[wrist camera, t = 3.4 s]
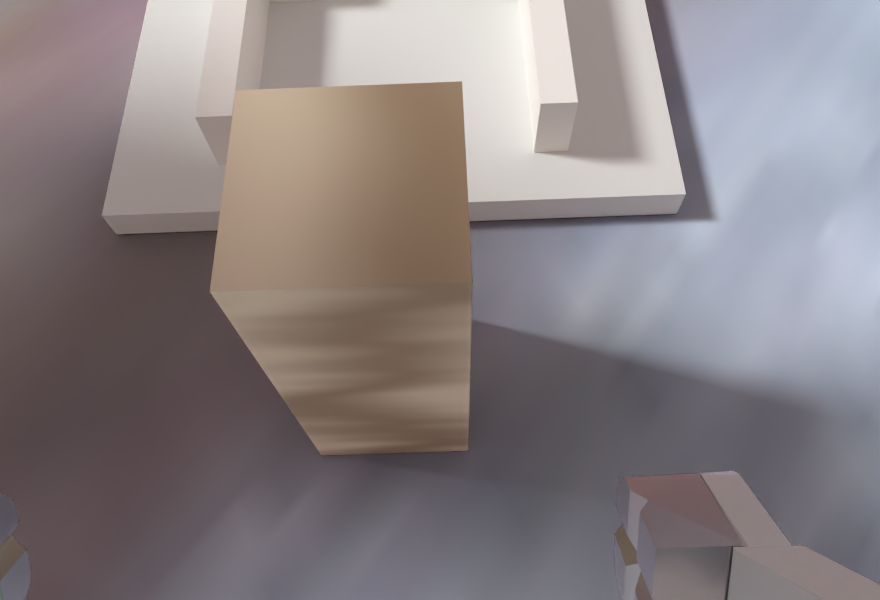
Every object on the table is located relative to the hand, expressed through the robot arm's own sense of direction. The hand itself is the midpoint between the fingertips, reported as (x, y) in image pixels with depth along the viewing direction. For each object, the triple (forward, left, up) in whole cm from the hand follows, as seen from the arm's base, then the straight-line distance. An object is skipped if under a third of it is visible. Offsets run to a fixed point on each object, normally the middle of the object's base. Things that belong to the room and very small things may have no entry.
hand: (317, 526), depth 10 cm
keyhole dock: (0, +23, -12) cm, 26 cm away
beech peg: (0, +6, -12) cm, 13 cm away
